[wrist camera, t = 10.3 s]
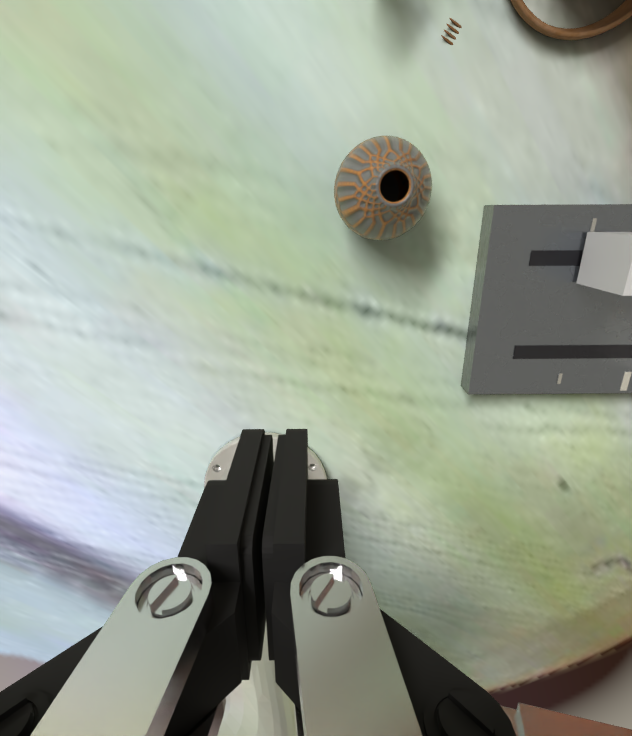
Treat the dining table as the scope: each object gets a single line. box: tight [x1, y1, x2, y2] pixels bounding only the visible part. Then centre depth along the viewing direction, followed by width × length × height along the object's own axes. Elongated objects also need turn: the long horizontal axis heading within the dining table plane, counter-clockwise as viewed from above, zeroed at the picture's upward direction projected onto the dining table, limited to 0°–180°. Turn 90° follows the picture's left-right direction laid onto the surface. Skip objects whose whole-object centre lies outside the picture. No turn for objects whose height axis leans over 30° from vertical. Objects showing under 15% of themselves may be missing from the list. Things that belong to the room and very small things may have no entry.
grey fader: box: [577, 232, 632, 296], centre depth 30 cm, size 4×3×6 cm
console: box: [461, 204, 632, 394], centre depth 36 cm, size 16×24×2 cm, turn 90°
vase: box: [334, 136, 432, 240], centre depth 29 cm, size 7×7×9 cm
